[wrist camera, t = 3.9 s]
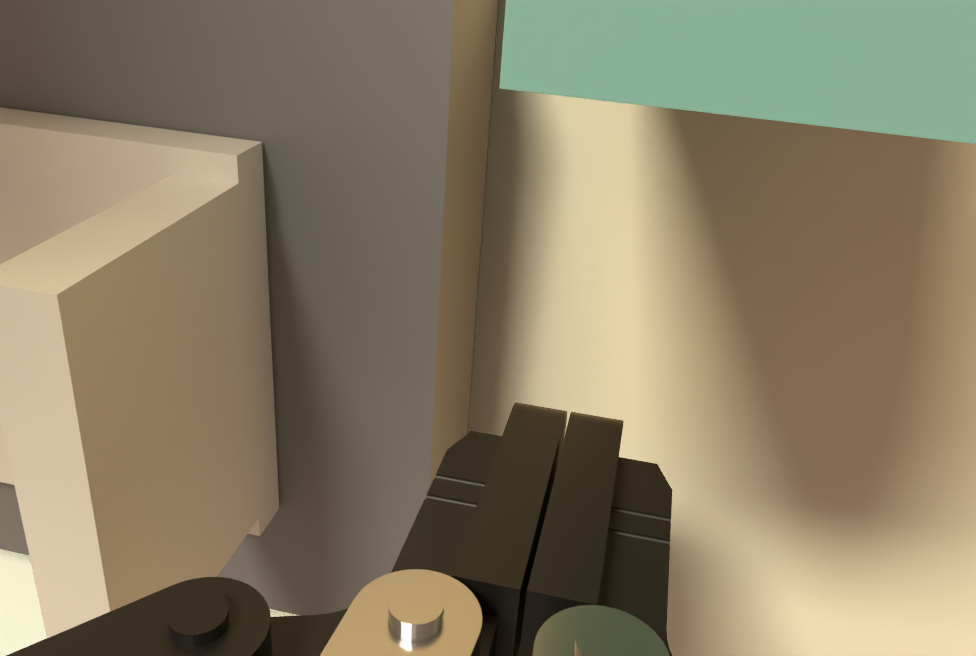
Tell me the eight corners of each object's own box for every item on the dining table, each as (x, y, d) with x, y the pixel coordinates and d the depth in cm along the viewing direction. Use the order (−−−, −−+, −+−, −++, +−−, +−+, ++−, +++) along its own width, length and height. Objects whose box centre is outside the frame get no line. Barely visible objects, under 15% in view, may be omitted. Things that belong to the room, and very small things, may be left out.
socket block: (501, -43, 14) (455, -31, 11) (460, 542, 19) (422, 642, 17) (-413, -127, 17) (-619, -133, 14) (-227, 403, 22) (-351, 470, 20)
